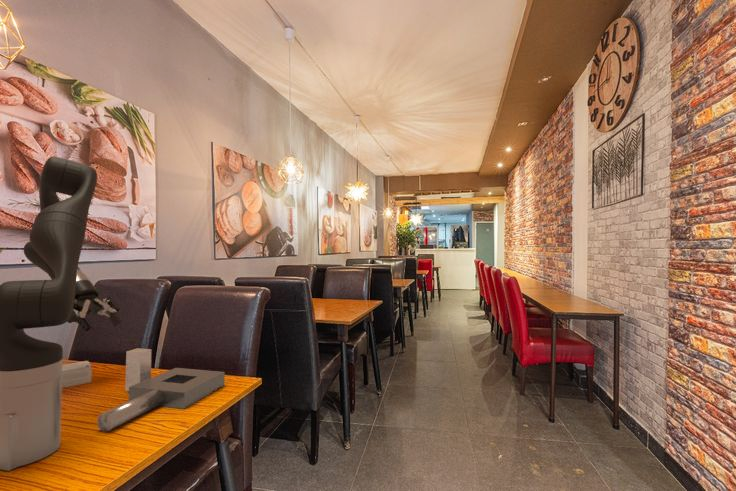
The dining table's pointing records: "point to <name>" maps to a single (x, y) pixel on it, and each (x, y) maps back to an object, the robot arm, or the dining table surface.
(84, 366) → the small box
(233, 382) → the dining table surface
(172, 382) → the grey handled frame
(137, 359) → the upright grey pillar
